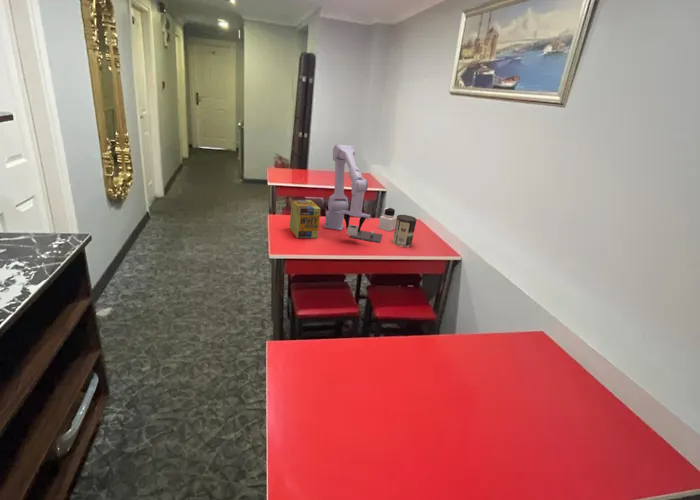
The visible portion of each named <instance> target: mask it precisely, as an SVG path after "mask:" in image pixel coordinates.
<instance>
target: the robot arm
mask: <svg viewBox="0 0 700 500" xmlns="http://www.w3.org/2000/svg"><path fill="white" fill-rule="evenodd" d="M355 153H356V150H355V146H354V145H353V144H352V145H349V144H339V143H336V144H335V145H334V146H333V149H332V161H333V162H335V163H334V164H335V165H334V192H333V194H331V195H330V196H329V198H328V201H327V206H328V208H327V209H328V210H327V211H326V213H325V219H324V220H325V221H324V226H323V227H324V228H326V229H331V230H336V231H342V230H343V228H344V227H345V228H346V229H345V230H346V231H347V227H348V226H349V224H350V218H351V217H356V218H359V222H358V226H359V228H358V232H360V230H361V228H362V226H363V224H364V222H365V220H370V218H371V214H367V213H365V212H362V211H363V205H364V199H365V193H366V192H367V190H368V188H369V184H368V183H369V182H368V179H365V177H363V174H362V172H361V169H360V168H359V167H358V166H357V164H356V163H357V162H356V160H355ZM345 165H347V166H348V176H349V178H350V181H351V184H350V187H351V192H350V193H351V202H350V206H349V200H348V199H349V198H348V197H347V196H346V194H345ZM349 207H350V209H349ZM348 209H349V210H348ZM344 222H345V224H344V225H343V223H344Z"/></svg>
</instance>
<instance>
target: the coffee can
mask: <svg viewBox="0 0 700 500" xmlns="http://www.w3.org/2000/svg"><path fill="white" fill-rule="evenodd" d="M417 220H418V219H417V218H416V217H414V216H411V215H408V214H397V215H396V223H395V228H394V229H393V230H394V231H393V237H392V241H391V242H392V244H394V245H396V246H398V247H403V248H410V247H412V246H413V245H412V243H413V239H414V233H415V230H416V229H415V228H416V225H417Z"/></svg>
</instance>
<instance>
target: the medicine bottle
mask: <svg viewBox="0 0 700 500" xmlns="http://www.w3.org/2000/svg"><path fill="white" fill-rule="evenodd" d="M395 211H396V210H395V209H394V208H392V207H385V208H384V209H383V214H382V215H381V216H379V222H378V229H380V230H383V231H385V232H390V231H393V230H395V225H396V219H397V216H395V213H396V212H395Z"/></svg>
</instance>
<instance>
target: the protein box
mask: <svg viewBox="0 0 700 500" xmlns="http://www.w3.org/2000/svg"><path fill="white" fill-rule="evenodd" d="M290 205H291V206H290V217H289V218H290V220H289V229H290V231H291V232H292V233H293V234H294V235H295V237H296V238H297V239H317V238H319V237H318V235H319V229H320V228H319V226H320V219H321V217H320V216H321V207H319V206H318V204H316V203H315V202H314V201H312V200H311V199H291V204H290Z"/></svg>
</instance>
